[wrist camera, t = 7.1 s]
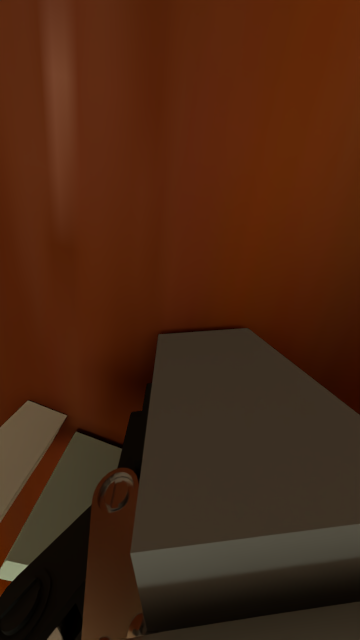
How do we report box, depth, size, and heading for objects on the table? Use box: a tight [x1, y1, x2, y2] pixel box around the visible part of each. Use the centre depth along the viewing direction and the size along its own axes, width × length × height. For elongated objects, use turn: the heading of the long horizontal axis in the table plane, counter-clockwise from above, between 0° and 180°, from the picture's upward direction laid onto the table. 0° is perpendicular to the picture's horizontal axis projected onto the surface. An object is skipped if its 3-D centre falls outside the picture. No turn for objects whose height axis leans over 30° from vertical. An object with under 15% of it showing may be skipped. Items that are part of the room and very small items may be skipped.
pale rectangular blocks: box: [0, 400, 67, 522], centre depth 11 cm, size 30×3×7 cm, turn 58°
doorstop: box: [130, 328, 360, 633], centre depth 7 cm, size 5×7×8 cm
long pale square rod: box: [0, 432, 122, 581], centre depth 12 cm, size 19×2×6 cm, turn 58°
